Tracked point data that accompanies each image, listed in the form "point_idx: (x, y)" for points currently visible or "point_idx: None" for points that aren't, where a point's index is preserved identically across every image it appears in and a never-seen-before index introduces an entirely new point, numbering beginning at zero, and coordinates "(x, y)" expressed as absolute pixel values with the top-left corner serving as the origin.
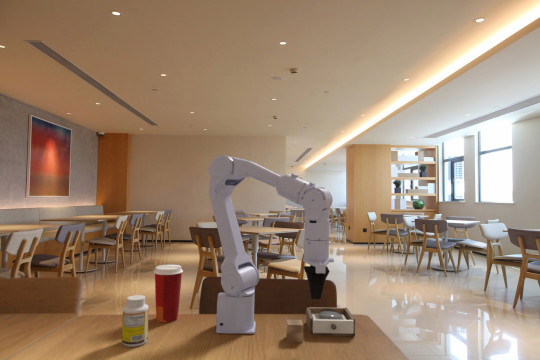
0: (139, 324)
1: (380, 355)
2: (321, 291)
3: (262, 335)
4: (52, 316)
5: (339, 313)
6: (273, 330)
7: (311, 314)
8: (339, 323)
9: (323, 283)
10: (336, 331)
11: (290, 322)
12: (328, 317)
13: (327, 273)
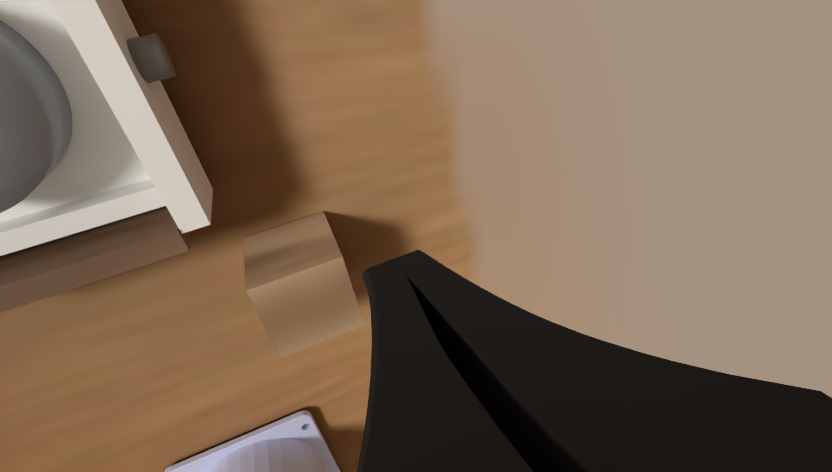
0: None
1: None
2: (467, 285)
3: (302, 380)
4: None
5: None
6: (218, 372)
7: (73, 267)
8: (104, 4)
9: (563, 330)
10: (133, 28)
11: (321, 326)
12: (28, 123)
13: (827, 411)
